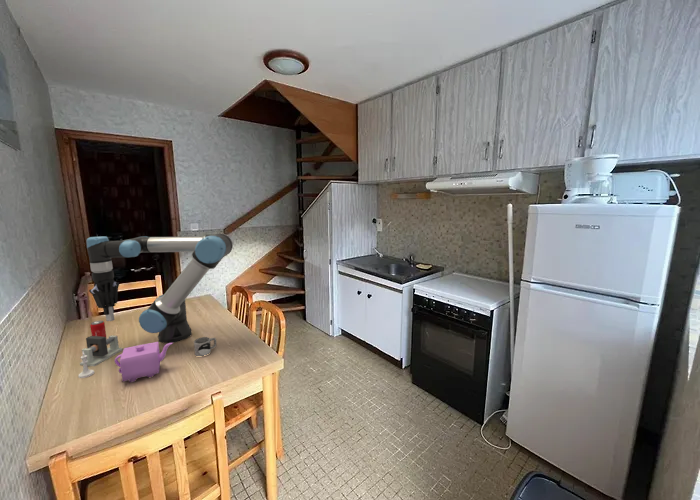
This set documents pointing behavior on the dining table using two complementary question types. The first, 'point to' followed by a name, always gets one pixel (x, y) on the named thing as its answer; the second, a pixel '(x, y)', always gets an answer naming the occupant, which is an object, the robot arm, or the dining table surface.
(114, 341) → the pipe rig
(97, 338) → the collar
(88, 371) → the chess piece
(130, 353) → the teapot
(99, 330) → the beverage can
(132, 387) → the dining table surface
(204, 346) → the mug
